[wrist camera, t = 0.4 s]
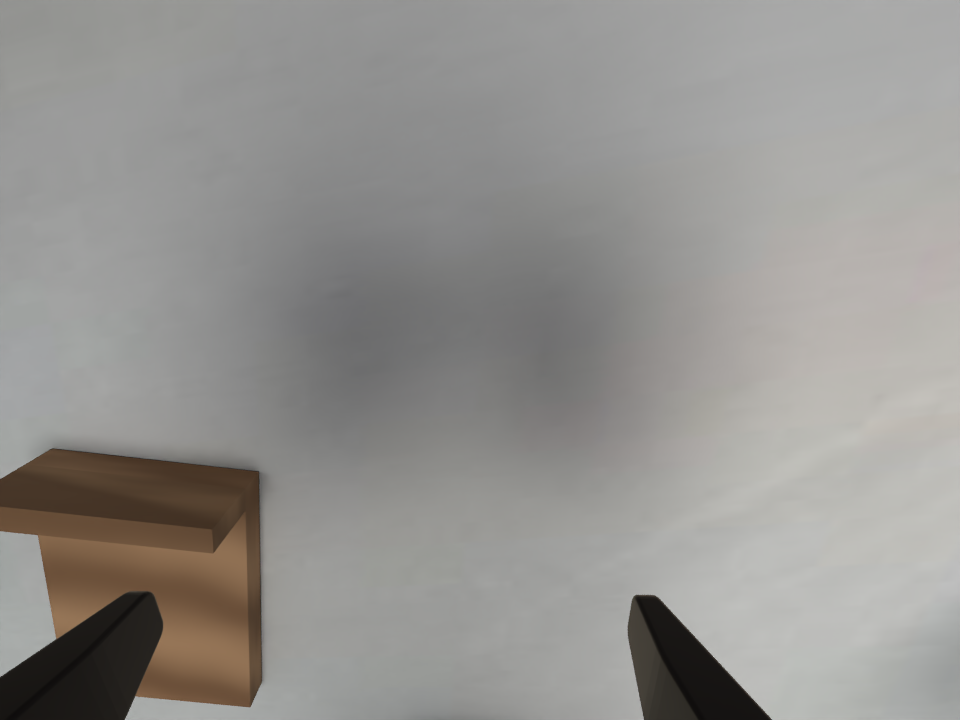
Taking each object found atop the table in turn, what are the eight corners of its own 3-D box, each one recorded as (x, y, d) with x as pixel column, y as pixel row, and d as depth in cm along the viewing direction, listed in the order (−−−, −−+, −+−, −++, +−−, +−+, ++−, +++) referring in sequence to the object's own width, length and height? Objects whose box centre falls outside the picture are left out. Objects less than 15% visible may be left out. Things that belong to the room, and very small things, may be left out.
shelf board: (261, 682, 29) (223, 766, 25) (86, 665, 29) (17, 747, 25) (258, 471, 25) (212, 529, 21) (51, 448, 24) (-39, 502, 20)
